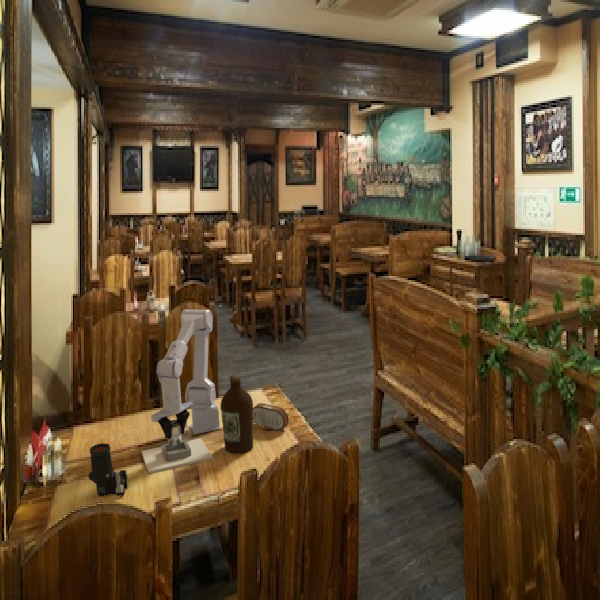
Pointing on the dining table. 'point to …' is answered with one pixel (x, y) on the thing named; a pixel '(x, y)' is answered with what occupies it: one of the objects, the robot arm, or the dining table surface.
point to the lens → (175, 433)
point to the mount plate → (175, 455)
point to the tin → (270, 416)
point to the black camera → (106, 472)
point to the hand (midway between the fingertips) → (174, 435)
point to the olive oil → (237, 418)
